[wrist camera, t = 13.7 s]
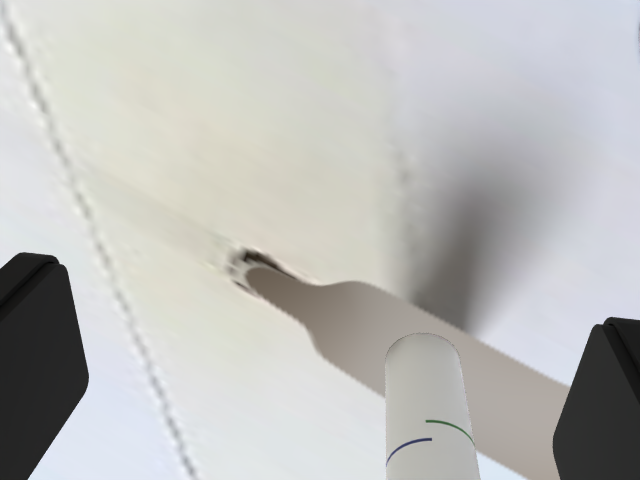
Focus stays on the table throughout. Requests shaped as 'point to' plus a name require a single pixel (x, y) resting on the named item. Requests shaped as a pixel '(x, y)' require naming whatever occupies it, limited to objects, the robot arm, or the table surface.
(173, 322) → the table surface
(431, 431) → the cylindrical container
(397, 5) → the table surface
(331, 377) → the table surface
